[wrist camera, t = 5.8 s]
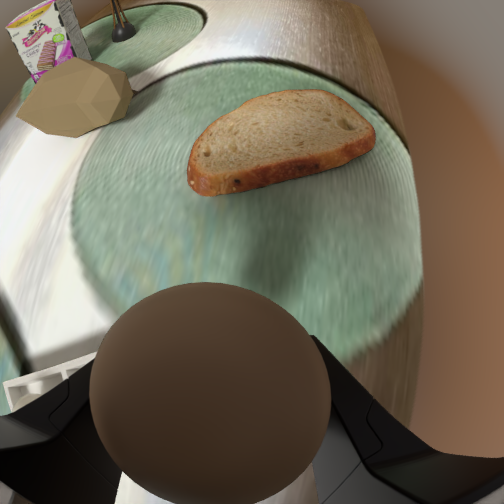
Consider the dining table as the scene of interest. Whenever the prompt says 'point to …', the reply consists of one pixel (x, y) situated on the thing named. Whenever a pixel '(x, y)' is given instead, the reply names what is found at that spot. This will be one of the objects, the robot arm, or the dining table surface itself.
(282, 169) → the slice of bread
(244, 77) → the dining table surface
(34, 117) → the low-poly potato
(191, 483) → the brown domed cylinder
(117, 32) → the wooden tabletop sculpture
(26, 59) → the candy bar box
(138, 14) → the dining table surface
